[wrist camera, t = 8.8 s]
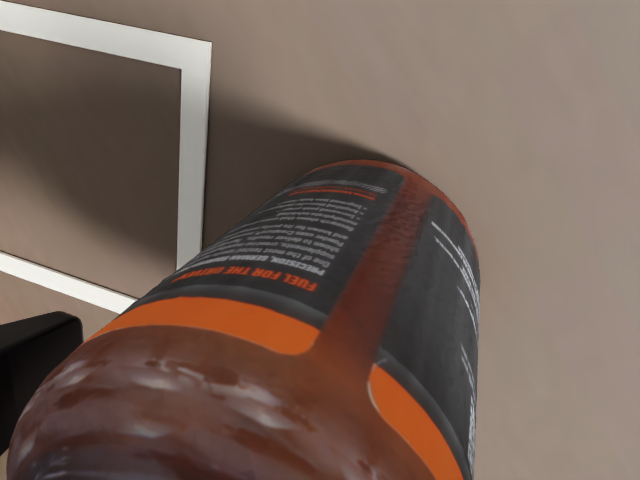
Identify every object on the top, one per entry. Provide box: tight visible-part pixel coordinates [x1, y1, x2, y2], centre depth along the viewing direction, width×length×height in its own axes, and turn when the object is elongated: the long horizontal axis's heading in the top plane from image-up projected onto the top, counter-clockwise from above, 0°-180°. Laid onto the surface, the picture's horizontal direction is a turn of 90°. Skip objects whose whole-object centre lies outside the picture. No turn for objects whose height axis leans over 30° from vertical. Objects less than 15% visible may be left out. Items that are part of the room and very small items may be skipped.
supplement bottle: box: [6, 160, 480, 480], centre depth 8 cm, size 6×6×11 cm
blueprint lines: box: [0, 0, 212, 314], centre depth 18 cm, size 17×23×1 cm
